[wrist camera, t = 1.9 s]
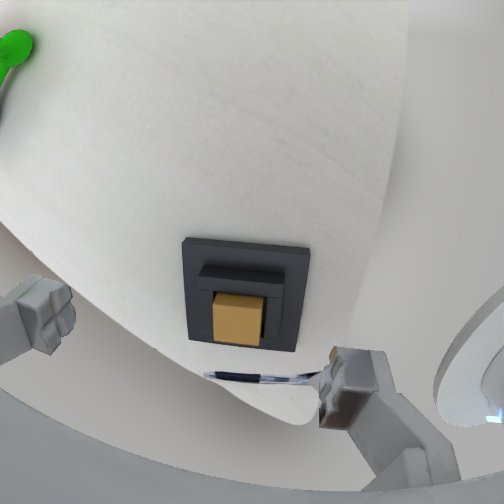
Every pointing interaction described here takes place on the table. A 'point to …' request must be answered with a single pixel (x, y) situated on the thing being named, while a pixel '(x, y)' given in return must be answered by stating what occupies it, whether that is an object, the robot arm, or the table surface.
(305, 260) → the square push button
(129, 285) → the table surface
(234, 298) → the tan square block
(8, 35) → the molecular model
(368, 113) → the table surface
